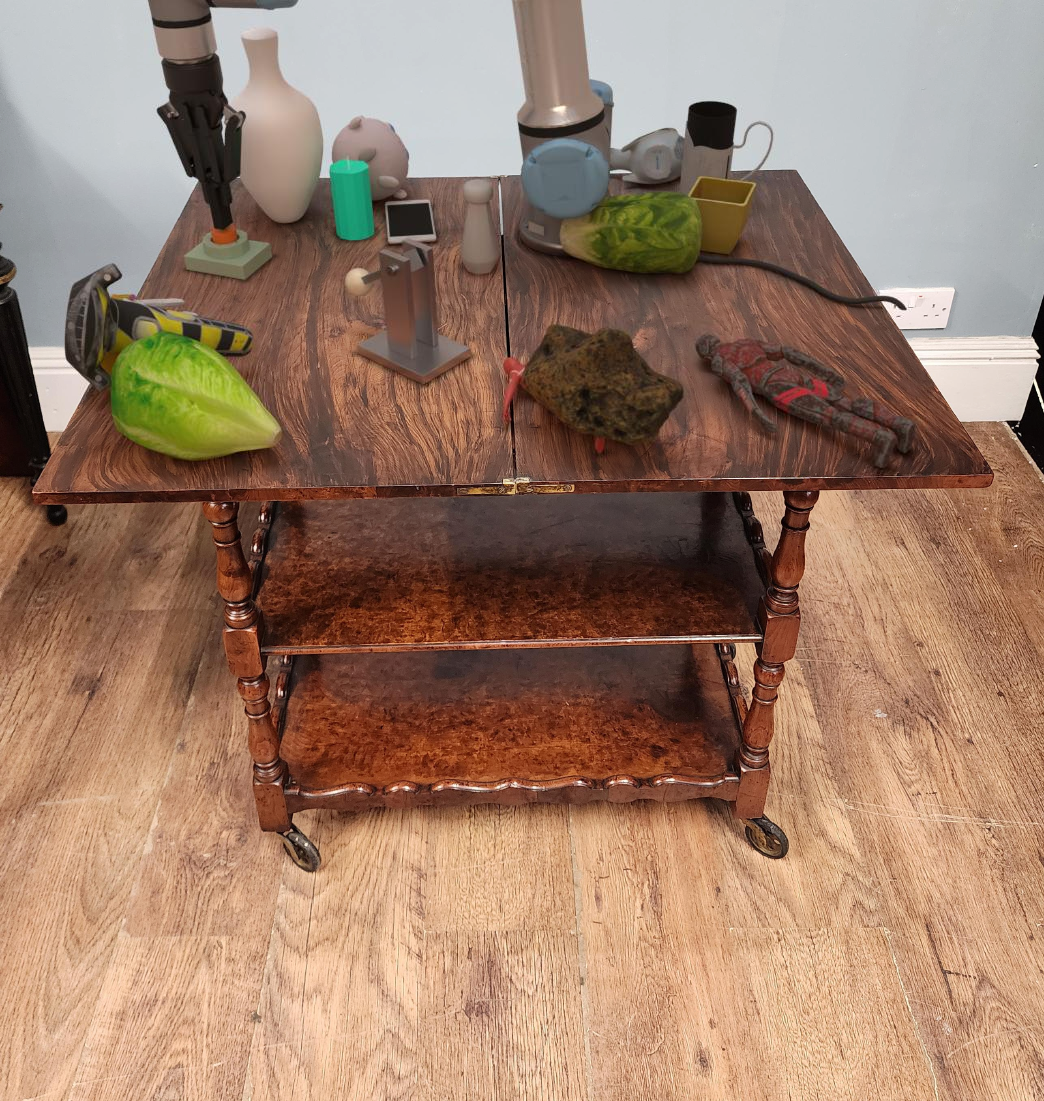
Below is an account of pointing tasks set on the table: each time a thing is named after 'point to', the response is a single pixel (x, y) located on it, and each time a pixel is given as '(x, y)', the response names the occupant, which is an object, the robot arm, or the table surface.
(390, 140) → the toy
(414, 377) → the bracket
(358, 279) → the lever
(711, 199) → the flower pot
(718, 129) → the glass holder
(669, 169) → the white rounded ceramic body
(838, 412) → the figurine
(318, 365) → the table surface
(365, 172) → the candle
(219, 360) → the lettuce
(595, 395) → the rock
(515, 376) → the figurine
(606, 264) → the lettuce
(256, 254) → the button block
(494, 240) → the salt shaker
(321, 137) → the vase
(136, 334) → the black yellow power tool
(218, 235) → the button
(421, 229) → the smartphone
